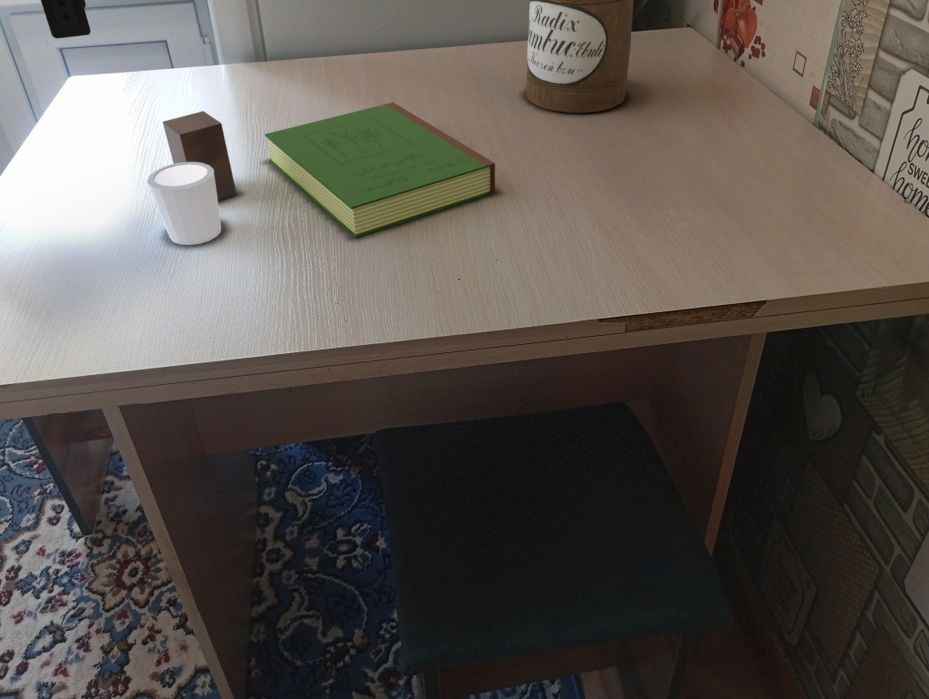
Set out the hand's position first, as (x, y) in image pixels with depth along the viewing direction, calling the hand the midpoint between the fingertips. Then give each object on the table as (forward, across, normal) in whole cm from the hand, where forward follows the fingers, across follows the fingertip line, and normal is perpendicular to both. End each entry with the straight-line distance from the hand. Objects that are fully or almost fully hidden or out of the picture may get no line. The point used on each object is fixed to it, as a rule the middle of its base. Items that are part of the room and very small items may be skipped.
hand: (70, 21), depth 73 cm
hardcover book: (+23, -3, +29) cm, 37 cm away
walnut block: (+23, -7, +9) cm, 26 cm away
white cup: (+23, +2, +6) cm, 24 cm away
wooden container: (+22, -16, +65) cm, 71 cm away
